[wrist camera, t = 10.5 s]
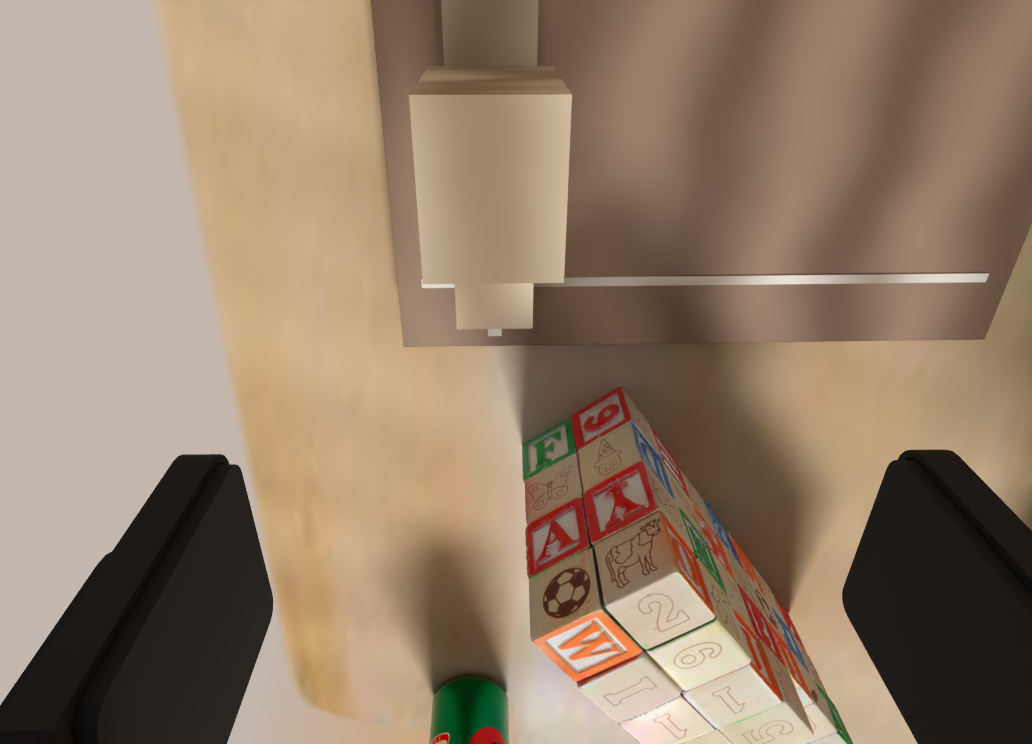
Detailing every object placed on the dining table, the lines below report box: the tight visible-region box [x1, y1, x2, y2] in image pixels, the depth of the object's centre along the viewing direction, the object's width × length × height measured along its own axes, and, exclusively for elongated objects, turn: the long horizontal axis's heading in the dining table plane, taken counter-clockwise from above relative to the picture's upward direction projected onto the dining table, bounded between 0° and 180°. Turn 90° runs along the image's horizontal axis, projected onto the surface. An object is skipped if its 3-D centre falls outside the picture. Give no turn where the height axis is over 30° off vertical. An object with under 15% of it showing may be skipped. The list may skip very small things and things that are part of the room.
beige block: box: [409, 0, 572, 329], centre depth 22 cm, size 6×15×10 cm, turn 0°
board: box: [371, 0, 1032, 347], centre depth 27 cm, size 26×14×2 cm, turn 90°
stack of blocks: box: [522, 387, 853, 744], centre depth 33 cm, size 21×6×12 cm, turn 35°
